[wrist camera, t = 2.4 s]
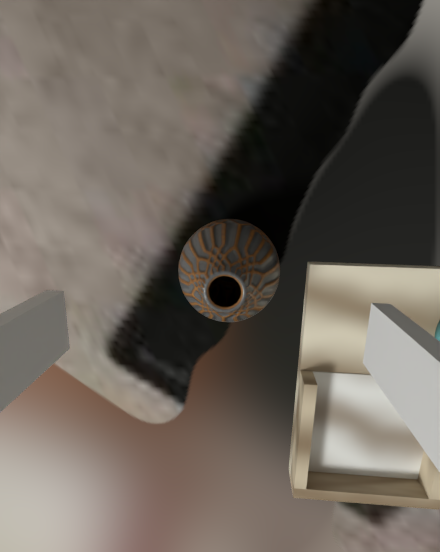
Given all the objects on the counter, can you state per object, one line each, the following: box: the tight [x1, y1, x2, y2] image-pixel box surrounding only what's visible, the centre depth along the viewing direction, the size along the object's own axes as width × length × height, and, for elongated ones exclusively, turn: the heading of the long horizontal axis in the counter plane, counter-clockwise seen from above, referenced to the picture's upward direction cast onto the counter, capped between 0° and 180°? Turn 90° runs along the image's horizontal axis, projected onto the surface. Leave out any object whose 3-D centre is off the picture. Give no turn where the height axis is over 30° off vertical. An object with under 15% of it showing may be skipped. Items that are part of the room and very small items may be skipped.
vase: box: [179, 219, 280, 322], centre depth 22 cm, size 7×7×9 cm
